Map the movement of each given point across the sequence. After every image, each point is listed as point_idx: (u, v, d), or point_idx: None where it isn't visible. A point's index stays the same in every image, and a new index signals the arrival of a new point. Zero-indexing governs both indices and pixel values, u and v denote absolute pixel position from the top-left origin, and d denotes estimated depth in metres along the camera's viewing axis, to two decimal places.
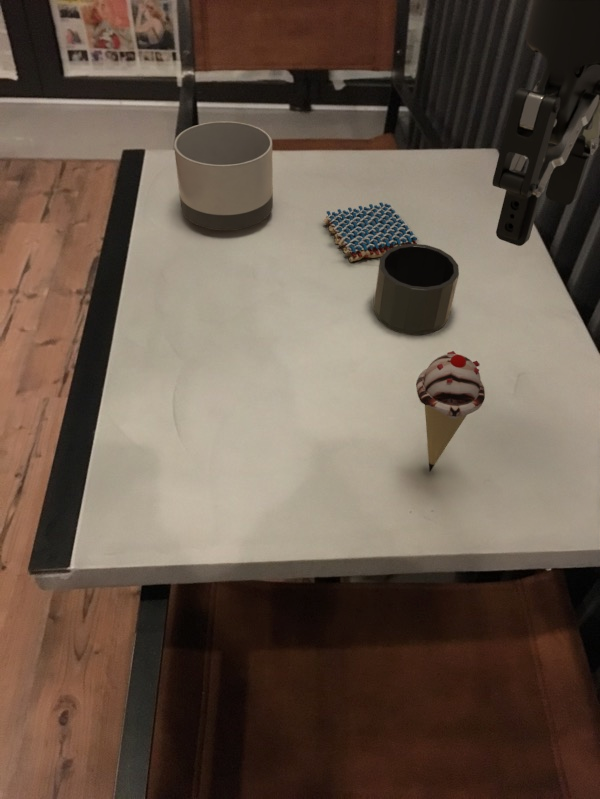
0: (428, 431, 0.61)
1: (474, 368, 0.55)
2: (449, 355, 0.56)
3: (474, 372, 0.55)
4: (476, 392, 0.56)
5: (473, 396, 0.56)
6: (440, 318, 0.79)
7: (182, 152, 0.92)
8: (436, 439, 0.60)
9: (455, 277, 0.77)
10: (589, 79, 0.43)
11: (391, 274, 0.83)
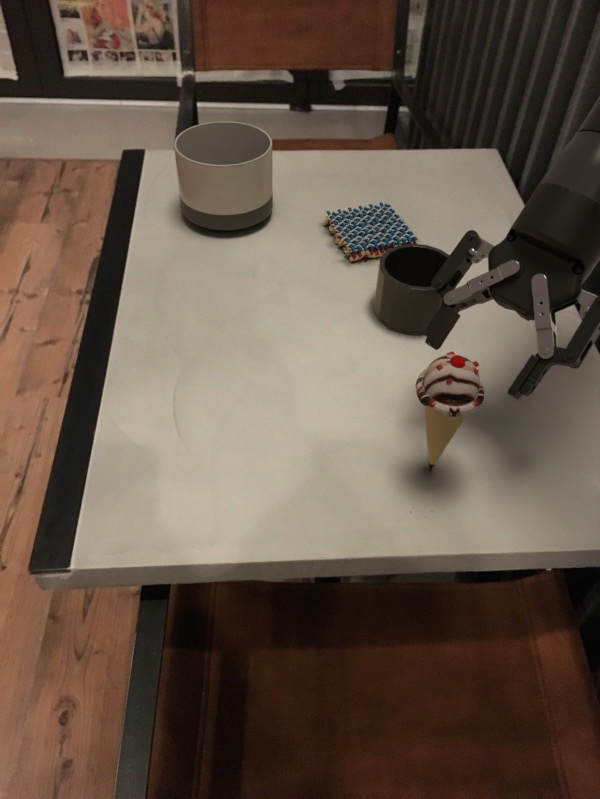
0: (427, 432, 0.61)
1: (473, 368, 0.55)
2: (448, 355, 0.56)
3: (474, 373, 0.55)
4: (475, 392, 0.56)
5: (472, 396, 0.56)
6: None
7: (182, 152, 0.92)
8: (436, 440, 0.60)
9: None
10: (525, 257, 0.57)
11: (391, 274, 0.83)
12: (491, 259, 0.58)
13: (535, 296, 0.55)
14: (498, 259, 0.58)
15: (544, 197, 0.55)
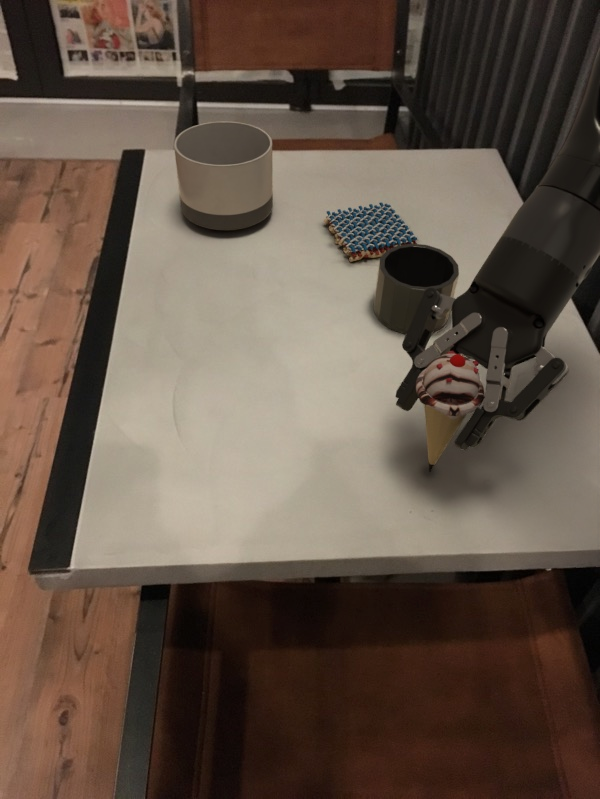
0: (428, 431, 0.61)
1: (473, 368, 0.56)
2: (448, 355, 0.56)
3: (473, 372, 0.55)
4: (475, 392, 0.56)
5: (472, 396, 0.56)
6: None
7: (182, 152, 0.92)
8: (436, 439, 0.60)
9: (455, 277, 0.77)
10: (488, 309, 0.57)
11: (391, 274, 0.83)
12: (454, 310, 0.58)
13: (493, 349, 0.56)
14: (461, 310, 0.58)
15: (505, 252, 0.55)
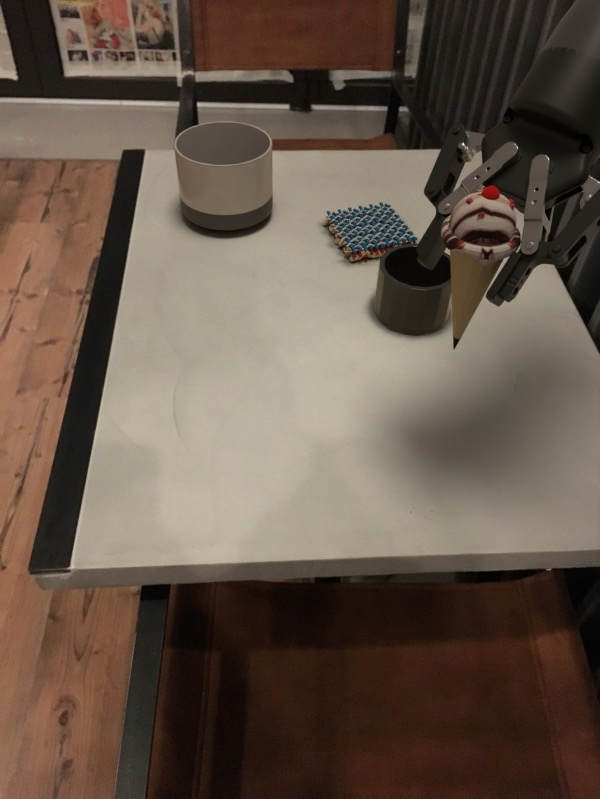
0: (453, 292, 0.53)
1: (509, 203, 0.48)
2: (479, 190, 0.48)
3: (509, 207, 0.47)
4: (511, 231, 0.48)
5: (508, 236, 0.48)
6: (440, 318, 0.79)
7: (182, 152, 0.92)
8: (463, 301, 0.53)
9: None
10: (524, 139, 0.49)
11: (391, 274, 0.83)
12: (485, 145, 0.50)
13: (532, 181, 0.48)
14: (493, 144, 0.50)
15: (546, 63, 0.47)
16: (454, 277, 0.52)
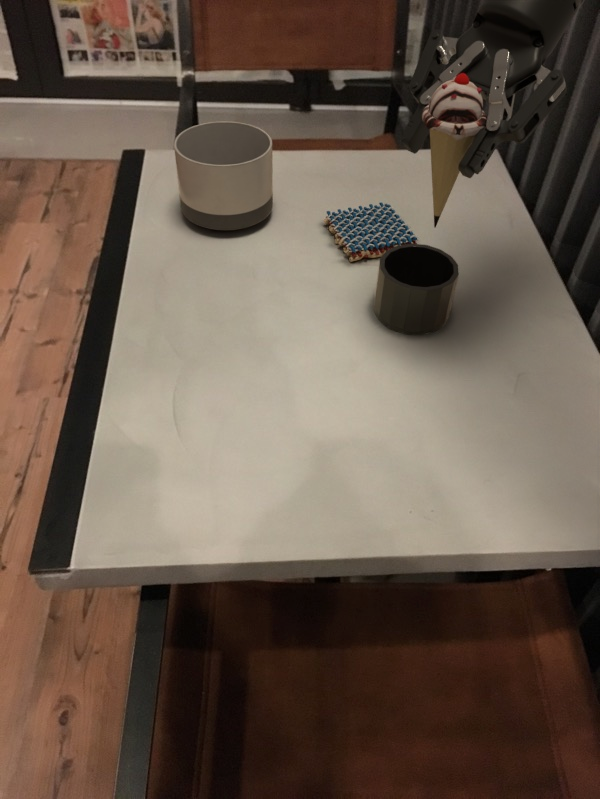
0: (433, 171, 0.64)
1: (477, 88, 0.59)
2: (453, 79, 0.59)
3: (477, 92, 0.59)
4: (479, 112, 0.59)
5: (476, 115, 0.59)
6: (440, 318, 0.79)
7: (182, 152, 0.92)
8: (441, 178, 0.64)
9: (455, 277, 0.77)
10: (490, 39, 0.60)
11: (391, 274, 0.83)
12: (458, 46, 0.62)
13: (495, 71, 0.59)
14: (465, 45, 0.61)
15: None
16: (433, 156, 0.63)
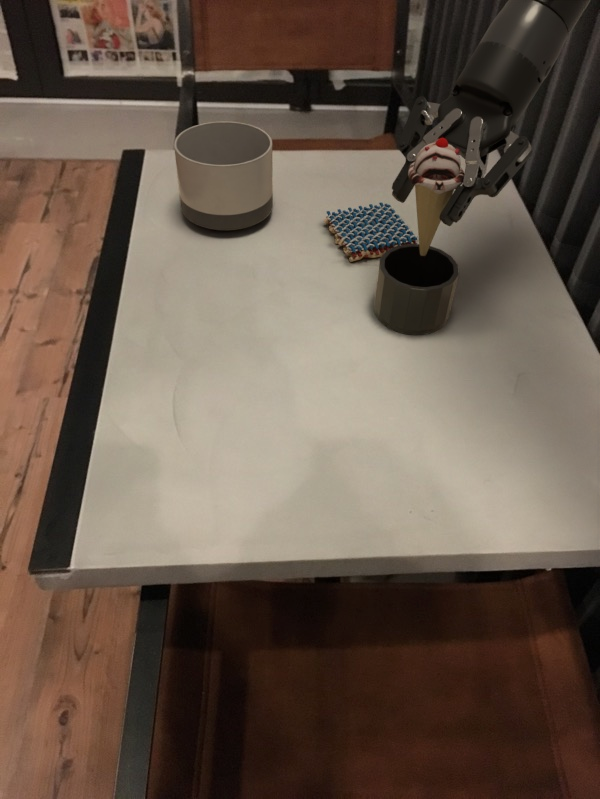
0: (418, 218, 0.73)
1: (455, 150, 0.68)
2: None
3: (455, 153, 0.68)
4: (457, 170, 0.68)
5: (454, 173, 0.68)
6: (440, 318, 0.79)
7: (182, 152, 0.92)
8: (425, 224, 0.73)
9: (455, 277, 0.77)
10: (467, 107, 0.69)
11: (391, 274, 0.83)
12: (440, 111, 0.71)
13: (471, 135, 0.68)
14: (445, 111, 0.71)
15: (480, 53, 0.67)
16: (418, 206, 0.72)
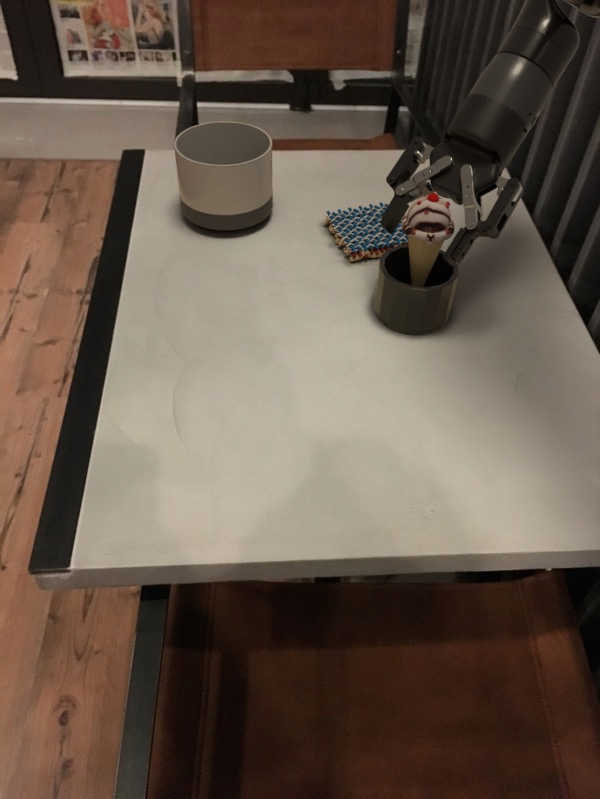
0: (411, 264, 0.77)
1: (445, 204, 0.72)
2: (426, 195, 0.73)
3: (445, 207, 0.72)
4: (447, 223, 0.72)
5: (445, 226, 0.72)
6: (440, 318, 0.79)
7: (182, 152, 0.92)
8: (418, 270, 0.77)
9: (455, 277, 0.77)
10: (457, 154, 0.73)
11: (391, 274, 0.83)
12: (431, 157, 0.74)
13: (463, 182, 0.72)
14: (436, 157, 0.74)
15: (469, 104, 0.71)
16: (411, 254, 0.76)
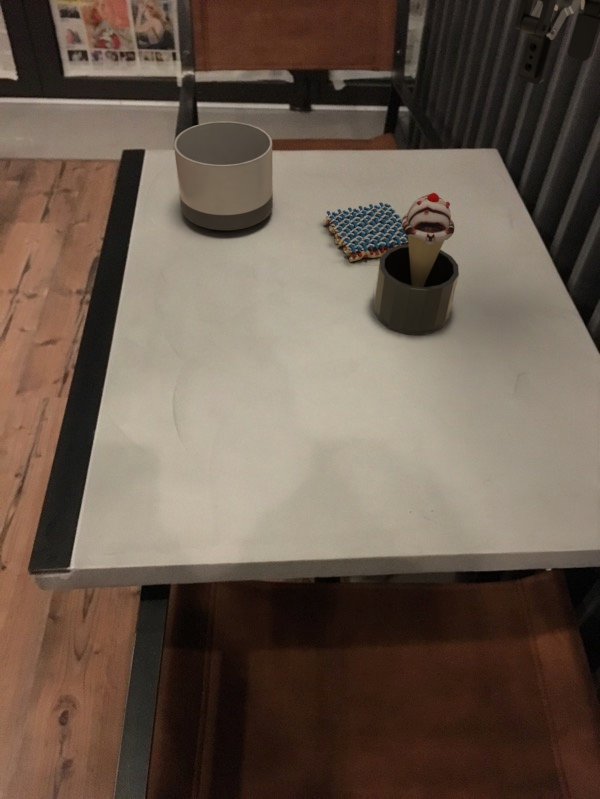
0: (411, 264, 0.77)
1: (445, 204, 0.72)
2: (426, 195, 0.73)
3: (445, 207, 0.72)
4: (447, 223, 0.72)
5: (445, 226, 0.72)
6: (440, 318, 0.79)
7: (182, 152, 0.92)
8: (418, 270, 0.77)
9: (455, 277, 0.77)
10: None
11: (391, 274, 0.83)
12: None
13: None
14: None
15: None
16: (411, 254, 0.76)
